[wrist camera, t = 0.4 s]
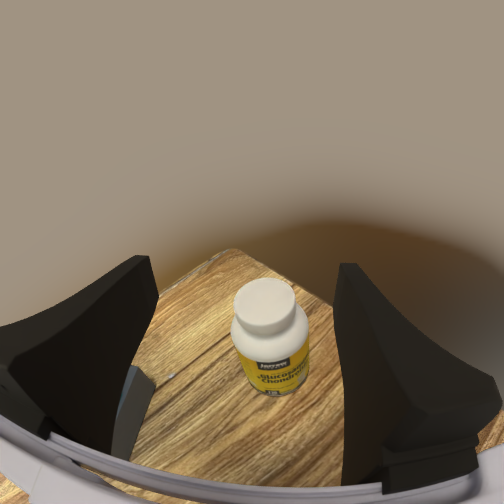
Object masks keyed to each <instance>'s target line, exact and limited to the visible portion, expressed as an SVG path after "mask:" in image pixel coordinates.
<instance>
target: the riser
mask: <svg viewBox="0 0 504 504" xmlns="http://www.w3.org/2000/svg"><path fill="white" fill-rule="evenodd" d="M155 387H156V385H155V384H154V383H153V382H152V381H151V380H150V379H149V378H148V377H147V376H146V375H145V374H144V373H143V371H142V370H141V369H140V368H139V367H137V366H133V365H130V368H129V370H128V374H127V377H126V380H125V383H124V387H123V390H122V394H123V395H122V397H121V400H120V402H119V406H118V411H117V416H116V421H115V426H114V433H113V441H112V449H111V456H113V457H116V458H119V459H122V460H125V461H128V460H129V458H130V455H131V452H132V449H133V446H134V443H135V441H136V438H137V435H138V432H139V430H140V427H141V424H142V421H143V419H144V416H145V413H146V411H147V408H148V405H149V403H150V400H151V398H152V395H153V392H154V390H155Z"/></svg>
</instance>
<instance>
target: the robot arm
mask: <svg viewBox="0 0 504 504" xmlns="http://www.w3.org/2000/svg"><path fill="white" fill-rule="evenodd" d="M158 299H159V294H158V290H157V287H156V283H155V279H154V275H153V271H152V267H151V263H150V259H149V256H142V255H135V256H133V257H131V258H129V259H128V260H126V261H124V262H123V263H121V264H120V265H118V266H117V267H115V268H114V269H113V270H111V271H109V272H108V273H107V274H105V275H104V276H102V277H101V278H99V279H98V280H96V281H95V282H93V283H92V284H90V285H88V286H87V287H85V288H84V289H82V290H81V291H79V292H78V293H76V294H74V295H73V296H71V297H69V298H68V299H66V300H64V301H62V302H60V303H58V304H57V305H55V306H53V307H51V308H49V309H46V310H44V311H42V312H40V313H38V314H35V315H33V316H31V317H28V318H26V319H23V320H20V321H17V322H15V323H12V324H8V325H5V326H1V327H0V473H2V474H3V475H4V476H5V477H6V478H8V479H9V480H10V481H11V482H13V483H14V484H15V485H16V486H18V487H19V488H20V489H22V490H23V491H24V492H26V493H27V494H28V495H30V496H29V498H28V500H29V502H30V504H160V503H156V502H153V501H149V500H146V499H142V498H139V497H136V496H133V495H130V494H127V493H126V492H124V491H122V490H120V489H118V488H116V487H114V486H112V485H110V484H109V483H107V482H106V481H104V480H103V479H102V478H101V477H99V476H98V475H96V474H93V473H91V472H89V471H87V470H85V469H83V468H81V467H84V468H86V469H88V470H91V471H93V472H96V473H98V474H101V475H103V476H106V477H109V478H111V479H114V480H117V481H120V482H123V483H126V484H129V485H132V486H135V487H138V488H142V489H145V490H148V491H152V492H156V493H159V494H163V495H167V496H171V497H176V498H180V499H185V500H190V501H195V502H200V503H206V504H504V443H502V444H500V445H497V446H494V447H492V448H489V449H486V450H484V451H482V452H480V453H478V454H477V455H476V450H475V447H476V446H477V445H479V439H478V435H477V434H478V433H479V432H480V431H481V430H482V429H483V428H484V427H485V426H486V425H487V424H488V423H489V422H491V421H492V420H493V419H494V417H495V416H496V415H497V414H498V413H499V411H500V409H501V407H502V398H501V396H500V393H499V390H498V388H497V385H496V383H495V380H494V378H493V377H492V376H490V375H488V374H486V373H484V372H482V371H480V370H478V369H476V368H474V367H472V366H470V365H468V364H467V363H465V362H463V361H462V360H460V359H458V358H457V357H455V356H454V355H452V354H450V353H449V352H448V351H446V350H444V349H443V348H442V347H440V346H439V345H438V344H436V343H435V342H433V341H432V340H431V339H429V338H428V337H427V336H426V335H424V334H423V333H422V332H421V331H420V330H418V329H417V328H416V327H415V326H414V325H413V324H412V323H410V322H409V321H408V320H407V319H406V318H405V317H404V316H403V315H402V314H401V313H400V312H399V311H398V310H397V309H396V308H395V307H394V306H393V305H392V304H391V303H390V302H389V301H388V300H387V299H386V297H385V296H384V295H383V294H382V293H381V292H380V291H379V289H378V288H377V287H376V286H375V285H374V284H373V283H372V281H371V280H370V279H369V278H368V276H367V275H366V274H365V273H364V272H363V270H362V269H361V268H360V267H359V266H358V265H357V264H356V263H340V267H339V273H338V279H337V285H336V291H335V297H334V302H333V318H334V331H335V336H336V342H337V348H338V354H339V359H340V365H341V371H342V378H343V387H344V452H343V466H342V478H341V486H336V487H309V488H293V487H266V486H252V485H242V484H233V483H225V482H217V481H211V480H204V479H199V478H193V477H188V476H183V475H178V474H174V473H169V472H165V471H161V470H157V469H153V468H149V467H145V466H142V465H138V464H135V463H132V462H128V461H125V460H122V459H119V458H116V457H113V456H111V449H112V441H113V433H114V426H115V421H116V416H117V411H118V406H119V402H120V398H121V394H122V390H123V387H124V383H125V380H126V377H127V374H128V370H129V368H130V365H131V363H132V360H133V358H134V356H135V354H136V352H137V350H138V347H139V345H140V343H141V341H142V339H143V337H144V335H145V333H146V331H147V328H148V326H149V324H150V322H151V320H152V318H153V315H154V312H155V309H156V305H157V302H158ZM80 466H81V467H80Z"/></svg>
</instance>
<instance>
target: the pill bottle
mask: <svg viewBox="0 0 504 504" xmlns="http://www.w3.org/2000/svg"><path fill="white" fill-rule="evenodd" d="M233 306H234V311H235V316H234V318H233V321H232V324H231V337H232V340H233V343H234V346H235V348H236V351H237V353H238V356H239V358H240V361H241V363H242V366H243V368H244V371H245V373H246V376H247V378H248V380H249V382H250V384H251V385H252V386H253V387H254V388H255V389H256V390H257V391H259V392H261V393H263V394H265V395H269V396H283V395H287V394H290V393H292V392H294V391H295V390H297V389H298V388H299V387H300V386H301V385H302V384H303V383H304V381H305V380H306V378H307V375H308V372H309V326H308V319H307V316H306V314H305V312H304V310H303V309H302V308H301V307H300V306H299V305H298V304H297V303H296V298H295V294H294V291H293V289H292V288H291V287H290V286H289V285H288V284H287V283H286V282H284V281H282V280H279V279H276V278H260V279H256V280H253V281H251V282H249V283H247V284H245V285H244V286H243V287H242V288H241V289H240V290H239V291H238V292H237V294H236V296H235V299H234V305H233Z"/></svg>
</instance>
